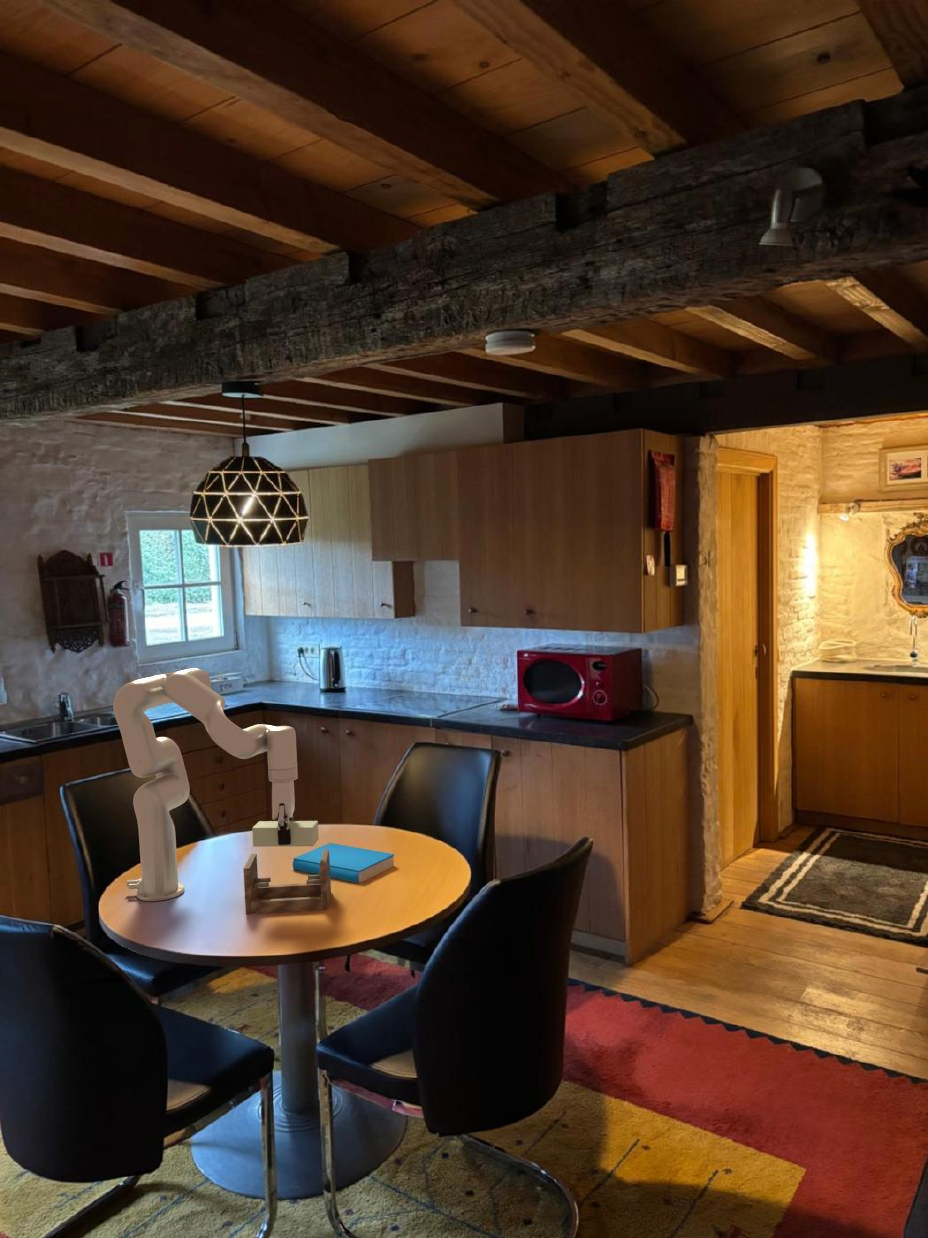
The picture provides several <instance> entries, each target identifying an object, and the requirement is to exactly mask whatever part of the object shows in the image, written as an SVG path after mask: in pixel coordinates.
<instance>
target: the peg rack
mask: <svg viewBox="0 0 928 1238" xmlns="http://www.w3.org/2000/svg"><path fill="white" fill-rule="evenodd" d="M242 872H243V889H244V890H243V891H244V905H245V909H244V910H245V915H249V914H250V915H253V914H271V913H285V912H286V913H287V912H303V911H305V912H306V911H320V910H321V911H322V910H328V907H329V903H330V901H331V900H330V899H331V894H332V883H331V882H332V881H331V877H330V858H329V850H323V854H322V857H321V861H320V875H318V874H310V875H309V874H308V875H307V880H306V882H305V883H289V884H287V883H286V884H274V885H273V884H272V885H270V883H271V881H272V877H259V872H258V854H257V853H251V854H250V855H249V857H248V859H247V860H246V862H245V864H244V867H243V871H242Z"/></svg>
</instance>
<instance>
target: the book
mask: <svg viewBox="0 0 928 1238" xmlns="http://www.w3.org/2000/svg"><path fill="white" fill-rule="evenodd" d="M323 850H329V858H330V878H333V879H337V880H338V879H339V880H343V881H348V882H351V883H352V882H353V883H357V884H359V883H362V882H364V881H366V880H368V879H370V878H372V877H374V876H376V875H378V874H380V873H383V872H385V871H386V870H388V869H390V868H392V867H394V866H395V859H394V857H395V854H394V853H391V852H385V851H379V850H373V849H367V848H361V847H356V846H350V845H344V844H341V843H340V844H338V843H334V842H328V843H326V844H323V845H322V846H319V847H316V848H314V849H312V850H310V851H307V852H305V853H303V854H300V855H297V856H296V857H293V860H292V869H293V870H295V871H299V872H305V873H308V874H312V875H320V861H321V857H322V854H323Z"/></svg>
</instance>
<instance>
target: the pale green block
mask: <svg viewBox="0 0 928 1238" xmlns="http://www.w3.org/2000/svg"><path fill="white" fill-rule="evenodd" d="M289 829H290V835H291V844H290V845H278V820H268V821H266V820H265V821H263V820H259V821H258V822H257V823H256V824H255V825H253V826H252V829H251V830H252V831H251V832H252V847H257V848H258V847H267V848H268V847H271V848H272V847H274V848H275V847H314V846H315V845H316V843H317V842H318V841H319V839H320V838H319V821H318V820H293V821H289Z"/></svg>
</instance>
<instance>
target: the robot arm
mask: <svg viewBox="0 0 928 1238" xmlns="http://www.w3.org/2000/svg"><path fill="white" fill-rule="evenodd" d="M211 687H212V681H211V678H210V676H209V675H208V673H207V672H206V671H204V670H203V669H200V668H198V667H192V668H187V669H182V670H178V671H173V672H168V673H163V674H156V675H152V676H149V677H143V678H138V679H134V680H132V681H130V682H127V683H126V684H124V685H123V686H121V687H120V688H119V689H118V691H117V692H116V694H115V695H114V698H113V705H112V706H113V707H112V709H113V714H114V717H115V721H116V723H117V725H118V728H119V731H120V734H121V738H122V743H123V747H124V750H125V754H126V755H125V756H126V758H127V762H128V765H129V769H130V771H131V773H132V774H133V775H134V776H135V777H136V778H142V779H143V778H149V777H151V776H154V775H155V778H154V779H152V780H150V781H147V782H145V783H144V784H142V785H140V786H139V787H138V788H137V790H136V791H135V792H134V795H133V801H132V802H133V803H132V806H133V809H134V813H135V817H136V820H137V829H138V841H139V856H140V871H141V872H140V873H141V874H140V875H141V877H140V878H138V879H127V880H126V888H128V890H135V889H137V891H136V897H137V899H138V900H141V901H145V902H159V901H164V900H169V899H173V898H175V897H178V896H180V895H181V894H183V893H184V891H185V885H184V884H183V883H182V882H181V883H180V882H179V874H178V872H179V871H178V860H177V859H178V858H177V857H178V856H177V839H176V828H175V824H174V821H173V819H172V817H171V814H170V811H171V810H173V809H176V808H178V807H179V806H182V805H183V804H184V803H186V802H187V800H188V798H189V796H190V782H189V779H188V775H187V771H186V767H185V764H184V759H183V755H182V753H181V750H180V747H179V745H178V744H177V743H176V742H175V740H173V739H171V738H169V737H168V736H167V737H166V736H158V737H156V733H155V730H154V725H153V723H152V721H151V719H150V717H149V716H148V715H147V714H146V713H145V711H146V710H149V709H152V708H156V707H159V706H164V705H167V704H172V703H174V704H176V705H177V706H179V707H180V708H182V709H183V710H184V711H186V712H187V713H189V714H190V715H191V716H193V717H194V718H196V719H197V720H198V721H200V722H201V723H202V724H203V725H204V728H205V730H206V732H207V734H208V735H209V737H210V738H211V740H212V741H213V742H214V743H215V744H216V745H217V746H218V747H220V748H222V749H223V750H224V751H225V752H227V753H228V754H230V755H232V756H233V757H234V758H235V757H236V758H238V759H242V760H246V759H247V760H248V759H250V758H253V757H254V756H257V755H259V754H263V753H266V752H267V766H268V767H267V768H268V771H267V773H268V781H269V782H271V783H272V784H271V786H272V787H271V813H272V814H271V816H272V817H271V818H272V820H273V821H276V819H277V821H278V845H290V844H291V835H290V829H289V821H294V815H293V814H294V812H295V809H296V808H295V806H296V805H295V802H296V799H295V798H296V797H295V782H294V781H296V780H297V779H299V777H298V776H299V775H298V773H299V772H298V756H297V736H296V735H297V734H296V730H295V728H294V727H293V726H289V725H280V726H279V725H278V726H275V725H270V724H265V723H262V724H259V723H258V724H254V725H252V726H249V727H246V728H241V727H239V726H238V725H236V724H235V723H234V722H232V721H231V720H230V719H229V718H228V717H227V715H226V714H225V712H224V710H225V708H226V699H225V697H223V696H222V695H221V694H219V693H218V692H216V691H215V690H213V689H212V688H211Z"/></svg>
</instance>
